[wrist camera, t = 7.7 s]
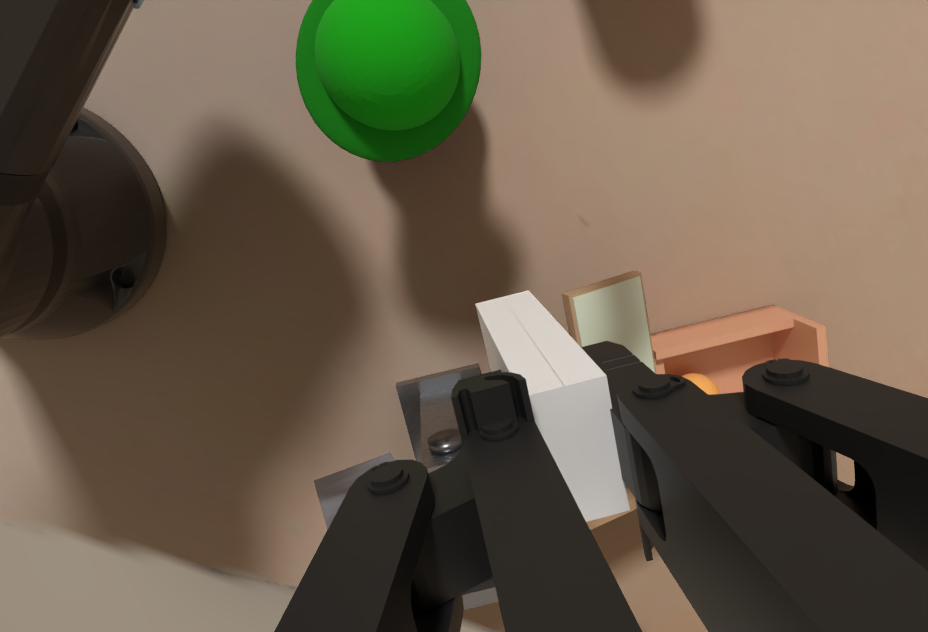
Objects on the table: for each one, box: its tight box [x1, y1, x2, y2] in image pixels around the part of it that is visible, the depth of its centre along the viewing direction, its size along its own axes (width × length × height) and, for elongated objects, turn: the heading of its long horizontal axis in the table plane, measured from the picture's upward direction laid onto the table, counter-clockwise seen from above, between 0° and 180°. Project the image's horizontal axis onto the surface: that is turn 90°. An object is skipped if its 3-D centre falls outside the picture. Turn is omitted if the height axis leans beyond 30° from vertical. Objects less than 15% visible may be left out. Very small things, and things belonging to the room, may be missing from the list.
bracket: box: [396, 364, 499, 610], centre depth 40 cm, size 6×11×12 cm, turn 13°
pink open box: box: [651, 305, 829, 394], centre depth 44 cm, size 10×9×6 cm
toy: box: [296, 0, 481, 161], centre depth 33 cm, size 9×9×15 cm
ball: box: [682, 373, 720, 395], centre depth 44 cm, size 4×4×4 cm
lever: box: [314, 271, 656, 530], centre depth 38 cm, size 22×14×8 cm, turn 103°
